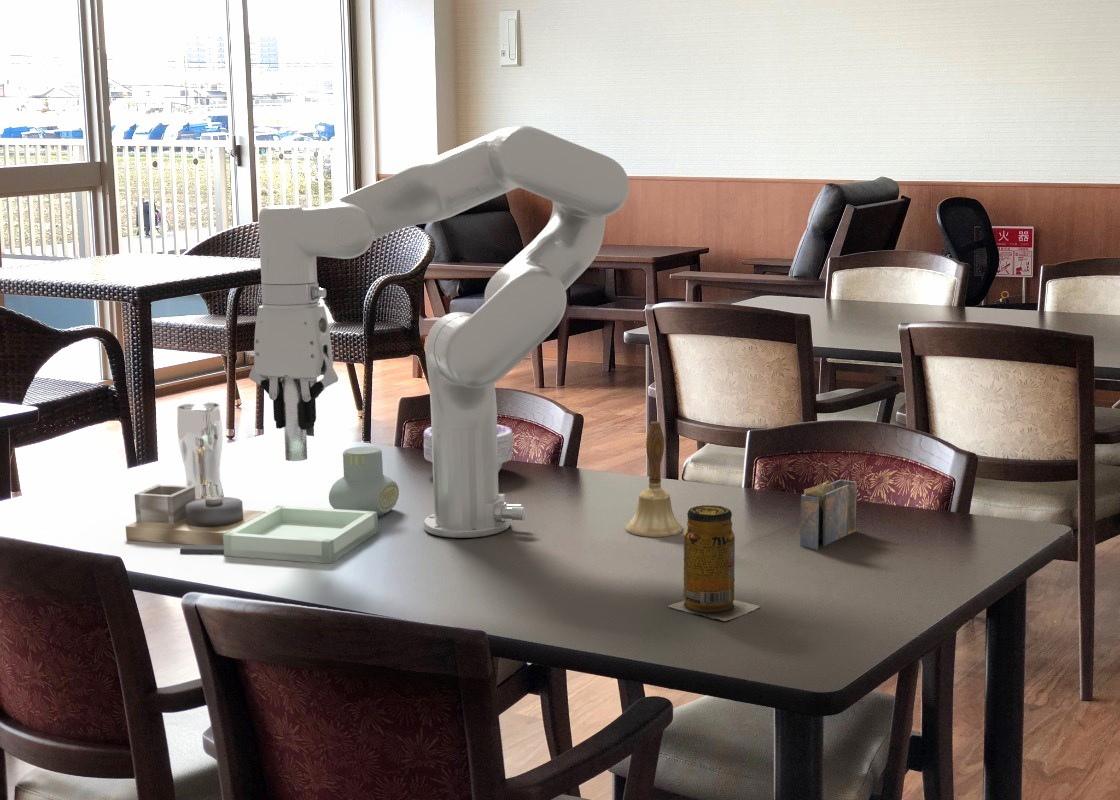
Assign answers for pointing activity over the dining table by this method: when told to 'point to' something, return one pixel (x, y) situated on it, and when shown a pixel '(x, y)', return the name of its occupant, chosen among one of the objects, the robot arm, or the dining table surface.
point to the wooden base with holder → (185, 516)
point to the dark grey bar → (203, 549)
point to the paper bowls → (502, 443)
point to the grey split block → (827, 512)
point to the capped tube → (293, 421)
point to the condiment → (710, 565)
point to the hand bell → (654, 495)
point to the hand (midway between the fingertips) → (295, 426)
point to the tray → (301, 534)
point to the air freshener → (364, 483)
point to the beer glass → (201, 447)
